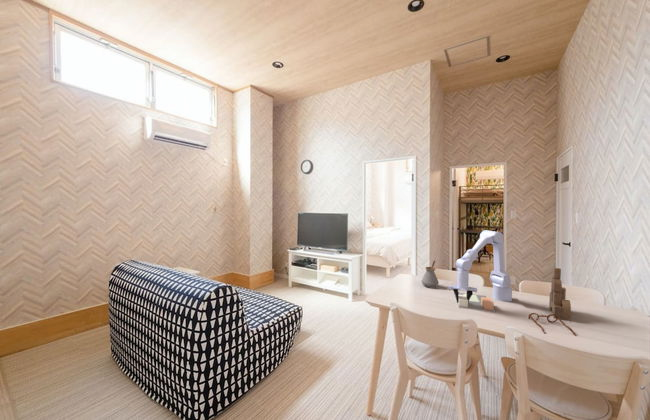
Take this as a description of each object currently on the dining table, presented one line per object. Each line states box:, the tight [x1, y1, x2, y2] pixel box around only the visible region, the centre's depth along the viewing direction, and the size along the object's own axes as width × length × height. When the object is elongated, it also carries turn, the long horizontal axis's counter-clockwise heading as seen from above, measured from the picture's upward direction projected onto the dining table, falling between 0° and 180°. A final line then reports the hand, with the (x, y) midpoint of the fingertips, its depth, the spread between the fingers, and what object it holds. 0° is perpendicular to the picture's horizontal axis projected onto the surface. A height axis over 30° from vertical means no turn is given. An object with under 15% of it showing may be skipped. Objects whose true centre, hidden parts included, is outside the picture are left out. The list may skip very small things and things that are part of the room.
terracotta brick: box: [481, 296, 495, 310], centre depth 149 cm, size 4×8×4 cm, turn 160°
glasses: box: [527, 312, 577, 337], centre depth 128 cm, size 13×13×5 cm
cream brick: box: [457, 295, 468, 307], centre depth 153 cm, size 4×8×4 cm, turn 160°
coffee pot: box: [421, 259, 440, 288], centre depth 190 cm, size 21×12×15 cm, turn 146°
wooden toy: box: [548, 267, 572, 321], centre depth 141 cm, size 16×7×25 cm, turn 148°
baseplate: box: [453, 292, 496, 313], centre depth 157 cm, size 18×24×1 cm
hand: (462, 302), depth 153 cm, fingers closed on cream brick, 4 cm apart
